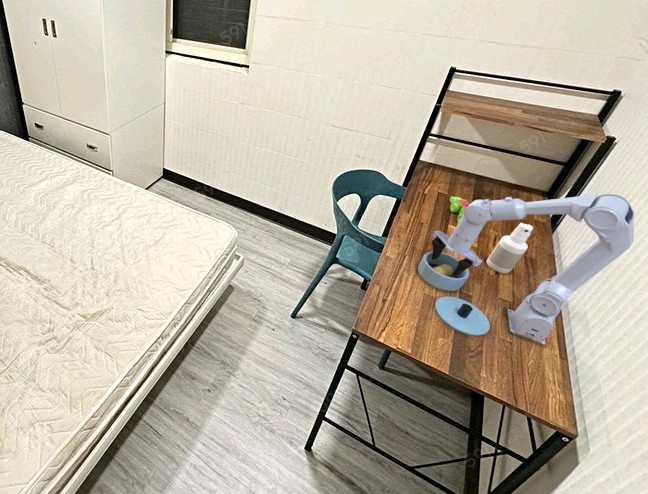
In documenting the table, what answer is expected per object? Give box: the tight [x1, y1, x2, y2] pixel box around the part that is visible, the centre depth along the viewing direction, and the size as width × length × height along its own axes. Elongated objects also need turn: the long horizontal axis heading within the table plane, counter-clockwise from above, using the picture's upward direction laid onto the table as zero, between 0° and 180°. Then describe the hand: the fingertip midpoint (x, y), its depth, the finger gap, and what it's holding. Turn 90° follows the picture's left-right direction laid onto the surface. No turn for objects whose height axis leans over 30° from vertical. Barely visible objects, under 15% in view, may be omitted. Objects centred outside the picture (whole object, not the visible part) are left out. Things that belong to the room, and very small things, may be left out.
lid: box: [434, 296, 491, 337], centre depth 120 cm, size 14×14×4 cm
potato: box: [432, 264, 453, 277], centre depth 133 cm, size 7×4×4 cm, turn 110°
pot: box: [417, 250, 470, 292], centre depth 133 cm, size 13×13×6 cm
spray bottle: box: [486, 222, 534, 274], centre depth 134 cm, size 7×7×18 cm
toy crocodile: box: [449, 196, 487, 229], centre depth 159 cm, size 20×7×6 cm, turn 167°
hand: (445, 266), depth 131 cm, fingers open, 7 cm apart
